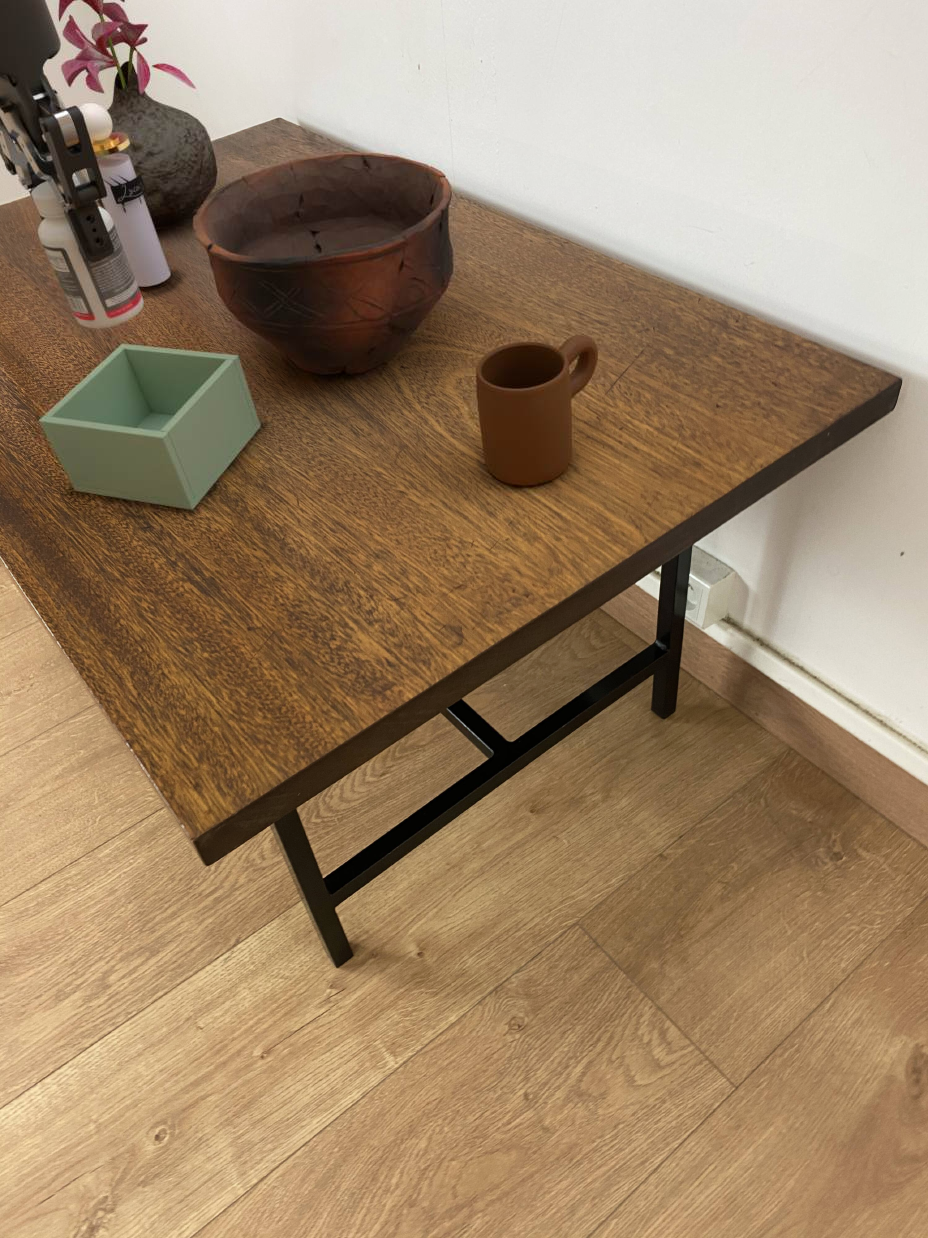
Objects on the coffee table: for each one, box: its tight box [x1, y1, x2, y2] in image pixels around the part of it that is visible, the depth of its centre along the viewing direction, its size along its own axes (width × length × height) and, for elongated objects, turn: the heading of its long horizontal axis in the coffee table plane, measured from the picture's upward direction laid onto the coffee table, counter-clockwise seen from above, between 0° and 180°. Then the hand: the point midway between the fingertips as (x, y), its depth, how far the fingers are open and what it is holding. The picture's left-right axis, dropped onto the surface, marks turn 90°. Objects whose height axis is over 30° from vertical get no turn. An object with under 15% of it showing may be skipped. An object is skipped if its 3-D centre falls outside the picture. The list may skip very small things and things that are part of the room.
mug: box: [475, 333, 599, 486], centre depth 75 cm, size 12×8×9 cm, turn 130°
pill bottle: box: [30, 175, 145, 329], centre depth 68 cm, size 5×5×10 cm
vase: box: [58, 0, 218, 230], centre depth 113 cm, size 17×18×30 cm
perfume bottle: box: [78, 102, 172, 287], centre depth 103 cm, size 6×6×20 cm
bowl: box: [192, 152, 454, 375], centre depth 90 cm, size 25×25×15 cm
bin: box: [38, 343, 261, 511], centre depth 81 cm, size 13×13×8 cm
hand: (82, 245), depth 68 cm, fingers closed on pill bottle, 5 cm apart
